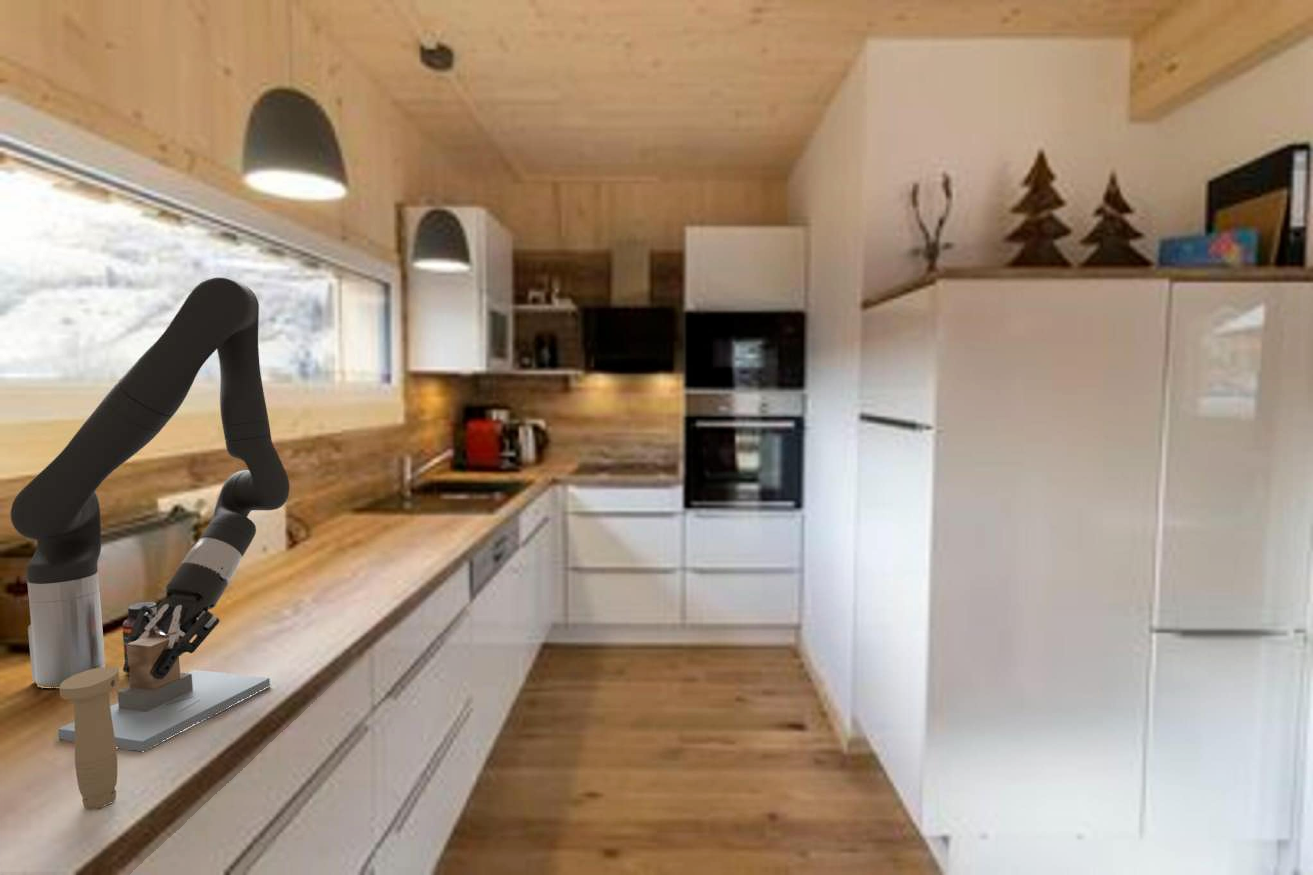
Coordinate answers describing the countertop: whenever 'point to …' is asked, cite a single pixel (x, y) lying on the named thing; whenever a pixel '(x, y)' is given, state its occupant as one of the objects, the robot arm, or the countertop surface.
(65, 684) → the handle
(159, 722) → the board
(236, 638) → the countertop surface
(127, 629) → the supplement bottle
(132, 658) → the block
